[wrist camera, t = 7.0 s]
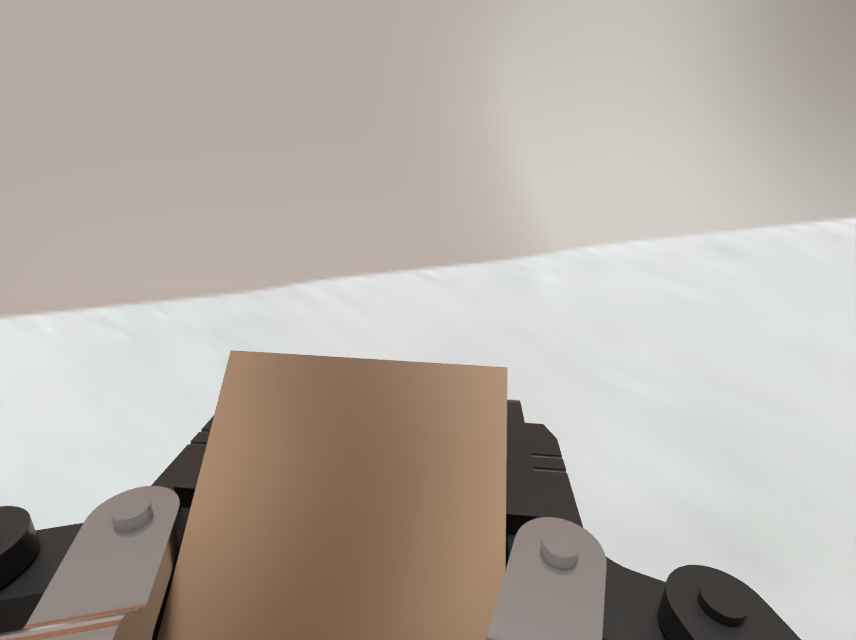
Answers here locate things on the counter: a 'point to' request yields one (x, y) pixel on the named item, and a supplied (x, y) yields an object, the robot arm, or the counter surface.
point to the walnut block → (346, 503)
